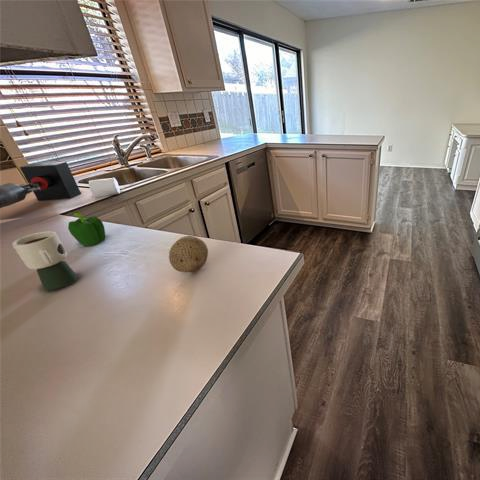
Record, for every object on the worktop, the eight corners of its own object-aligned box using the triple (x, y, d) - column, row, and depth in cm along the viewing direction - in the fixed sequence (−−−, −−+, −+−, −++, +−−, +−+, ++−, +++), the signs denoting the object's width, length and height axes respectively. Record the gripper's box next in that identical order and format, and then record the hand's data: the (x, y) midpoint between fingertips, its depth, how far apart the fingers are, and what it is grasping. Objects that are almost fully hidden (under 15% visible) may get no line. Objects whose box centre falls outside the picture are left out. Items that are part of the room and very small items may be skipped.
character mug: (86, 285, 64) (60, 238, 58) (47, 301, 59) (14, 251, 53) (75, 270, 70) (50, 226, 64) (39, 283, 66) (9, 237, 60)
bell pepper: (113, 241, 85) (100, 212, 80) (81, 251, 80) (65, 221, 75) (105, 234, 90) (93, 207, 85) (75, 243, 84) (59, 215, 80)
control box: (71, 198, 127) (54, 165, 120) (38, 201, 125) (19, 167, 118) (81, 193, 134) (66, 161, 127) (50, 195, 132) (33, 163, 125)
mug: (119, 195, 129) (112, 179, 126) (94, 199, 125) (86, 182, 122) (122, 189, 139) (116, 174, 135) (99, 192, 135) (92, 177, 131)
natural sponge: (209, 280, 65) (199, 244, 60) (170, 285, 63) (157, 249, 59) (214, 261, 73) (206, 228, 68) (180, 265, 71) (169, 232, 67)
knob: (48, 189, 120) (42, 177, 117) (34, 190, 119) (27, 178, 117) (57, 185, 125) (52, 173, 123) (44, 186, 125) (38, 174, 122)
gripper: (19, 184, 103) (50, 174, 118) (-21, 187, 101) (16, 176, 116) (29, 203, 106) (59, 190, 121) (-9, 205, 104) (26, 193, 119)
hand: (38, 183), depth 118 cm, fingers closed
